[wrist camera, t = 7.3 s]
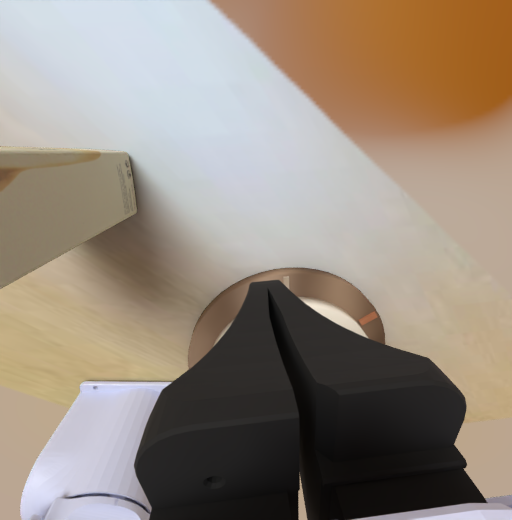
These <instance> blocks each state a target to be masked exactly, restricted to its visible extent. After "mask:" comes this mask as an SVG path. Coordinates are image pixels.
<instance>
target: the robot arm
mask: <svg viewBox="0 0 512 520" xmlns="http://www.w3.org/2000/svg"><path fill="white" fill-rule="evenodd" d="M80 391H81V392H80V394H79V395H78V397H77V398H76V400H75V401H74V403H73V405H72V406H71V408H70V409H69V411H68V412H67V414H66V415H65V417H64V418H63V420H62V421H61V423H60V424H59V426H58V427H57V429H56V430H55V432H54V433H53V435H52V436H51V438H50V440H49V441H48V443H47V444H46V446H45V447H44V449H43V450H42V452H41V453H40V455H39V457H38V458H37V460H36V462H35V464H34V466H33V468H32V470H31V472H30V475H29V477H28V479H27V482H26V485H25V487H24V491H23V494H22V499H21V507H20V513H21V518H22V520H298V490H299V489H300V485H299V484H300V483H299V480H300V479H299V476H300V477H301V483H302V489H303V495H304V501H305V507H306V513H307V519H308V520H512V495H507V496H500V497H493V498H484V497H483V495H482V494H481V493H480V491H479V490H478V489H477V487H476V486H475V484H474V483H473V482H472V480H471V479H470V477H469V476H468V475H467V473H466V472H465V471H464V469H463V468H466V466H467V463H466V460H465V459H464V458H463V456H462V455H461V453H460V452H459V451H458V449H457V448H456V447H455V445H454V443H455V440H456V438H457V435H458V433H459V431H460V428H461V425H462V423H463V421H464V417H465V413H466V401H465V397H464V395H463V394H462V393H461V392H460V390H459V389H458V388H457V387H456V386H455V385H454V384H453V383H452V381H451V380H450V379H449V378H448V377H447V376H446V375H445V374H444V373H443V372H442V371H441V370H440V369H439V368H438V367H437V366H436V365H435V364H434V363H433V362H432V361H431V360H430V359H429V358H427V357H423V356H420V355H416V354H413V353H410V352H406V351H403V350H400V349H396V348H393V347H390V346H387V345H385V344H382V343H379V342H377V341H374V340H371V339H369V338H366V337H364V336H362V335H359V334H357V333H355V332H353V331H351V330H348V329H346V328H344V327H342V326H340V325H338V324H336V323H335V322H333V321H331V320H330V319H328V318H326V317H324V316H323V315H321V314H320V313H318V312H317V311H315V310H314V309H312V308H311V307H310V306H308V305H307V304H306V303H304V302H303V301H302V300H301V299H300V298H298V297H297V296H296V295H295V294H294V293H293V292H292V291H290V290H289V289H288V288H287V287H286V286H285V285H284V284H283V283H282V282H281V281H280V280H269V281H259V282H251V283H250V284H249V289H248V293H247V295H246V298H245V300H244V302H243V304H242V307H241V309H240V310H239V312H238V314H237V316H236V317H235V319H234V321H233V322H232V324H231V325H230V327H229V328H228V330H227V331H226V332H225V334H224V335H223V336H222V337H221V338H220V340H219V341H218V342H217V343H216V344H215V346H214V347H213V348H212V349H211V350H210V351H209V352H208V353H207V354H206V355H205V356H204V357H203V358H202V359H201V360H200V361H198V362H197V363H196V364H195V365H194V366H193V367H192V368H190V369H189V370H188V371H187V372H185V373H184V374H183V375H181V376H180V377H179V378H177V379H176V380H175V381H173V382H118V381H84V382H82V383H81V385H80ZM299 471H300V475H299Z"/></svg>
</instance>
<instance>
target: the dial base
mask: <svg viewBox="0 0 512 520" xmlns="http://www.w3.org/2000/svg"><path fill="white" fill-rule="evenodd" d="M269 280H280V281H281V282H282V283H283V284H284V285H285V286H286V287H287V288H288V289H289V290H290V291H292V292H293V293H294V294H295V295H296V296H297V297H308V298H315V299H320V300H324V301H327V302H329V303H332V304H334V305H336V306H338V307H340V308H342V309H343V310H345V311H346V312H347V313H349V314H350V315H351V316H352V317H353V318H354V319H355V320H356V322H357V323H358V324H359V326H360V327H361V329H362V330H363V331H364V333H365V334H366V336H367V337H368V338H369V339H371V340H374V341H377V342H379V343H382V344H385V333H384V328H383V324H382V321H381V319H380V316H379V314H378V313H377V311H376V309H375V308H374V306H373V305H372V304H371V303H370V302H369V300H368V299H367V298H366V297H365V296H364V295H363V294H362V293H361V291H360V290H358V289H357V288H356V287H355V286H353V285H352V284H351V283H349V282H347V281H346V280H344V279H342V278H341V277H338V276H336V275H333V274H331V273H328V272H324V271H320V270H316V269H309V268H281V269H273V270H269V271H265V272H261V273H258V274H255V275H252V276H250V277H247V278H245V279H243V280H241V281H239V282H237V283H235V284H233V285H232V286H230V287H229V288H227V289H226V290H224V291H223V292H222V293H220V294H219V295H218V296H217V297H216V298H215V299H214V300H213V301H212V302H211V303H210V304H209V305H208V306H207V307H206V309H205V310H204V311H203V313H202V314H201V316H200V318H199V319H198V321H197V323H196V326H195V328H194V331H193V334H192V338H191V342H190V346H189V353H188V365H189V369H190V368H192V367H193V366H194V365H195V364H196V363H197V362H198V361H200V360H201V359H202V358H203V357H204V356H205V355H206V354H207V353H208V352H209V351H210V350H211V349H212V348H213V346H214V343H215V341H216V339H217V338H218V336H219V335H220V333H221V332H222V330H223V329H224V328H225V327H226V326H227V325H228V324H229V323H230V322H231V321H232V320H233V319H235V317H236V316H237V314H238V312H239V310H240V309H241V307H242V304H243V302H244V300H245V298H246V295H247V293H248V289H249V284H250V283H251V282H259V281H269Z"/></svg>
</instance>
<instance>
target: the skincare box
mask: <svg viewBox="0 0 512 520" xmlns="http://www.w3.org/2000/svg"><path fill="white" fill-rule="evenodd" d="M136 213H137V206H136V198H135V191H134V184H133V177H132V172H131V167H130V162H129V157H128V153H127V152H124V151H111V150H97V149H75V148H38V147H7V146H0V289H1V288H3V287H5V286H7V285H8V284H10V283H12V282H14V281H16V280H17V279H19V278H21V277H23V276H25V275H26V274H28V273H30V272H32V271H34V270H35V269H37V268H39V267H41V266H43V265H44V264H46V263H48V262H50V261H52V260H53V259H55V258H57V257H59V256H61V255H62V254H64V253H66V252H68V251H69V250H71V249H73V248H75V247H76V246H78V245H80V244H82V243H84V242H85V241H87V240H89V239H91V238H93V237H94V236H96V235H98V234H100V233H102V232H104V231H105V230H107V229H109V228H111V227H112V226H114V225H116V224H118V223H120V222H121V221H123V220H125V219H127V218H129V217H130V216H132V215H134V214H136Z"/></svg>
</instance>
